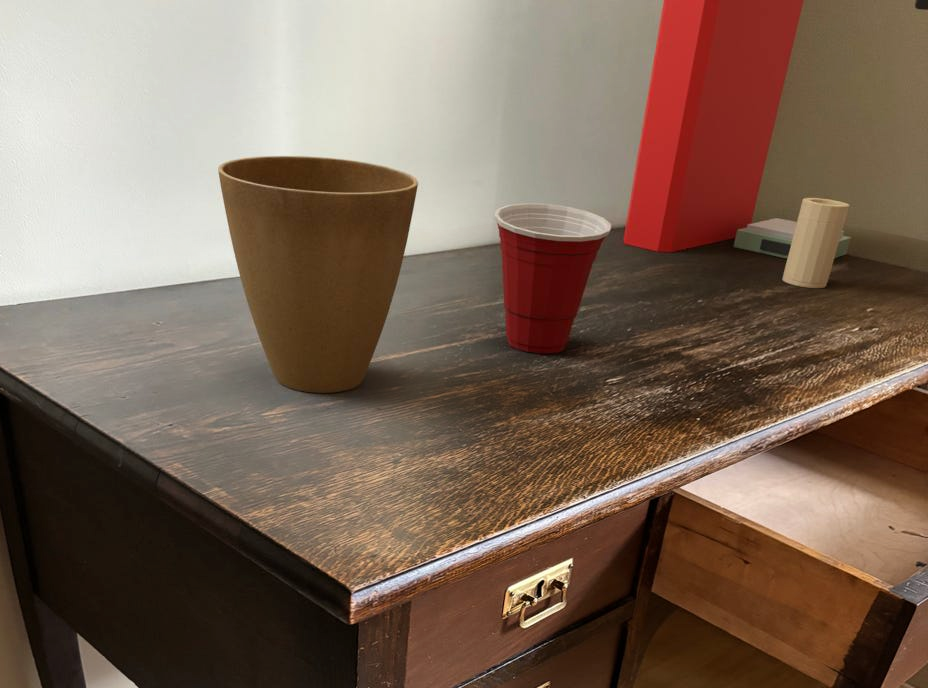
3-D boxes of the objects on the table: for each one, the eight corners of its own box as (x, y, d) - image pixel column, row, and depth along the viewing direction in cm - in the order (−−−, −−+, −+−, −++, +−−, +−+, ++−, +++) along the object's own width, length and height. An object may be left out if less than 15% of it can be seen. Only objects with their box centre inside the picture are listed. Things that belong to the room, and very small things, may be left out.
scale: (846, 254, 149) (853, 231, 147) (814, 265, 140) (821, 241, 138) (767, 238, 155) (772, 216, 153) (731, 247, 146) (737, 224, 144)
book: (704, 225, 160) (752, -6, 143) (748, 234, 156) (804, -2, 139) (618, 242, 142) (661, -20, 124) (665, 253, 138) (717, -17, 120)
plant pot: (212, 355, 84) (201, 152, 75) (374, 349, 90) (381, 158, 81) (248, 416, 73) (241, 186, 64) (431, 405, 78) (447, 191, 69)
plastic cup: (484, 358, 90) (498, 220, 83) (478, 326, 99) (490, 199, 92) (599, 367, 90) (622, 231, 84) (583, 334, 99) (602, 208, 93)
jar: (832, 284, 130) (855, 204, 124) (816, 290, 126) (840, 207, 120) (791, 275, 132) (812, 196, 127) (775, 281, 128) (796, 199, 123)
